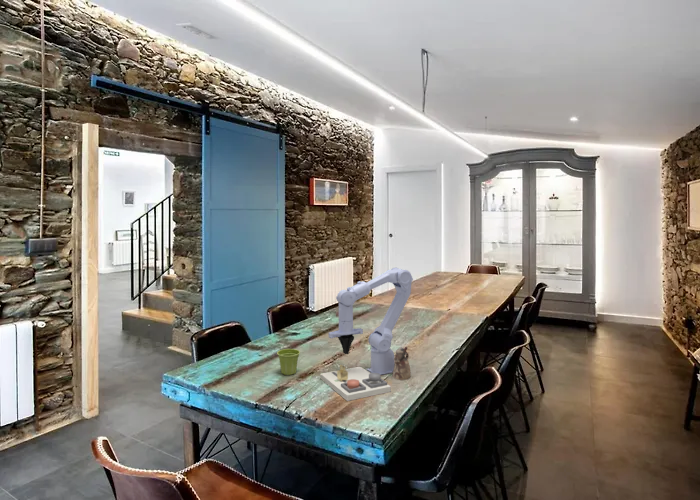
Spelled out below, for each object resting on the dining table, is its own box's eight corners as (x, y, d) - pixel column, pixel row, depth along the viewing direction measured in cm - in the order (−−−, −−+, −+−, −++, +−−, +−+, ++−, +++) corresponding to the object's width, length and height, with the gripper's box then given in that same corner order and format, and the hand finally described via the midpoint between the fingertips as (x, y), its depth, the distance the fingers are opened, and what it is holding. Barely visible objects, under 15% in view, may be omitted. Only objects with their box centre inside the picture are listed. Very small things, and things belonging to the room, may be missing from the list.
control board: (360, 371, 181) (360, 364, 180) (390, 391, 159) (390, 383, 159) (320, 378, 173) (320, 371, 172) (347, 401, 151) (347, 392, 151)
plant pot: (301, 368, 184) (300, 348, 183) (299, 376, 175) (299, 355, 174) (279, 368, 184) (278, 348, 183) (275, 377, 174) (275, 355, 174)
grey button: (376, 376, 165) (376, 371, 164) (382, 380, 161) (382, 375, 161) (366, 378, 163) (366, 373, 162) (372, 382, 159) (372, 377, 159)
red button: (355, 383, 161) (355, 378, 160) (361, 387, 157) (361, 382, 157) (345, 385, 159) (345, 380, 159) (350, 389, 155) (350, 384, 155)
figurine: (389, 374, 177) (389, 345, 176) (405, 372, 179) (405, 344, 178) (397, 380, 170) (397, 350, 169) (413, 378, 172) (413, 348, 171)
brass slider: (344, 376, 168) (344, 364, 167) (347, 379, 165) (347, 366, 165) (337, 378, 166) (337, 365, 166) (340, 380, 164) (340, 367, 163)
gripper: (356, 316, 180) (357, 348, 181) (325, 320, 173) (325, 353, 174) (365, 319, 174) (365, 352, 175) (332, 323, 167) (333, 358, 168)
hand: (346, 353), depth 174 cm, fingers closed
